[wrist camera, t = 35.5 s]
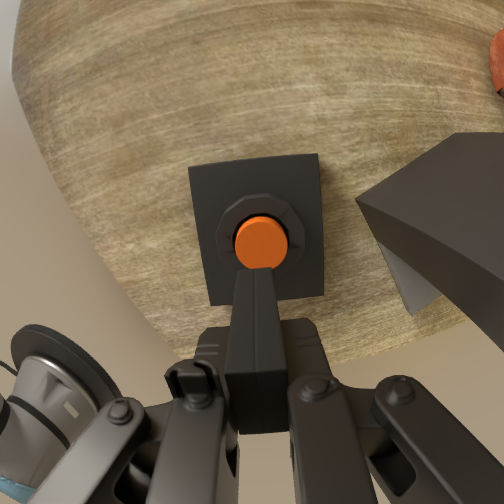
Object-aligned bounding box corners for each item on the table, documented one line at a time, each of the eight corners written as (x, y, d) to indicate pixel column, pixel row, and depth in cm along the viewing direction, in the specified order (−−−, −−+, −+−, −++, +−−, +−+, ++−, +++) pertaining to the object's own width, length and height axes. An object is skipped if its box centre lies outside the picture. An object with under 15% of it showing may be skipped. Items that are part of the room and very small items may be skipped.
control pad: (214, 295, 26) (207, 317, 23) (193, 166, 23) (181, 167, 19) (319, 285, 26) (328, 305, 22) (312, 153, 22) (323, 152, 18)
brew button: (239, 264, 22) (238, 273, 20) (233, 218, 20) (231, 224, 19) (286, 260, 21) (289, 268, 20) (283, 213, 20) (285, 218, 19)
